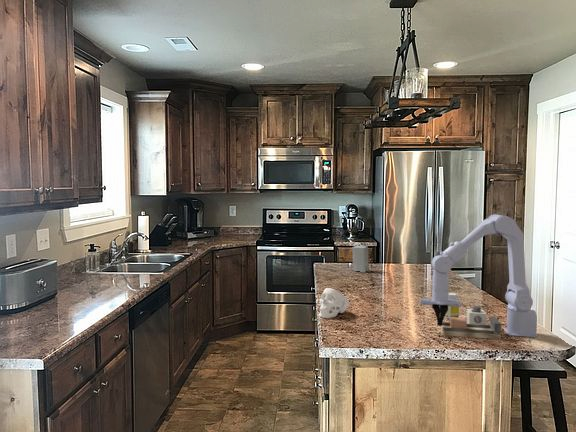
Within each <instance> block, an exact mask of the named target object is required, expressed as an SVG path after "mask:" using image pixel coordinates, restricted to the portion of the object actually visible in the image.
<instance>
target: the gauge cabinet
mask: <svg viewBox="0 0 576 432" xmlns="http://www.w3.org/2000/svg"><path fill="white" fill-rule="evenodd" d="M466 321H467V324H482V325H487V313H486V311H485V309H481V313H477V312H473V308H467V309H466Z"/></svg>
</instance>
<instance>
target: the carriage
mask: <svg viewBox="0 0 576 432" xmlns="http://www.w3.org/2000/svg"><path fill="white" fill-rule="evenodd" d="M449 320H450V321H449V322H450V326H451V328H462V329H467V318H465V317H450V319H449Z"/></svg>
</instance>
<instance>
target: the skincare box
mask: <svg viewBox="0 0 576 432" xmlns="http://www.w3.org/2000/svg"><path fill="white" fill-rule="evenodd" d="M368 247H369V246H367V245H365V246H364V245H355V246H352V248H351V249H352V252H351V253H352V272H353V271H360V272H359V273H367V272H369V271H368V270H370V269H369V268H370V267H369V248H368ZM366 271H367V272H366Z"/></svg>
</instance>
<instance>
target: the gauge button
mask: <svg viewBox="0 0 576 432" xmlns="http://www.w3.org/2000/svg"><path fill="white" fill-rule="evenodd" d="M472 309H473V312H477V313H481V310H482V308H481V307H480V306H472Z"/></svg>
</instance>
